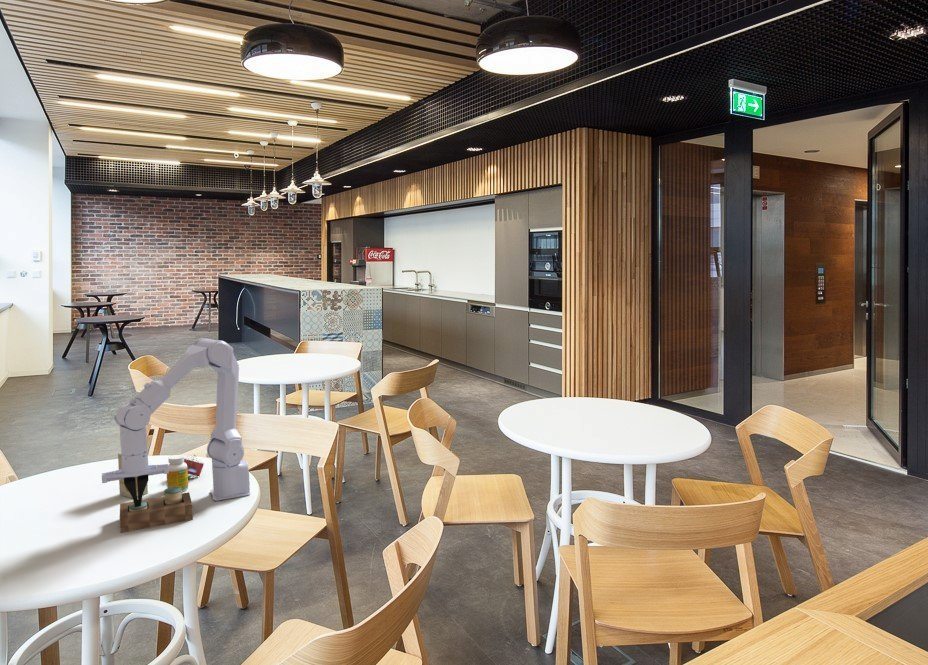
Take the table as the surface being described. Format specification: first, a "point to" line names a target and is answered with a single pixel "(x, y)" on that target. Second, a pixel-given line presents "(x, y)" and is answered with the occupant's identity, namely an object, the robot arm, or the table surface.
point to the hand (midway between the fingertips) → (138, 505)
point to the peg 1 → (143, 506)
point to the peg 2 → (173, 495)
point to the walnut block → (155, 513)
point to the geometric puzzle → (193, 467)
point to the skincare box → (122, 487)
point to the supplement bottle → (177, 472)
